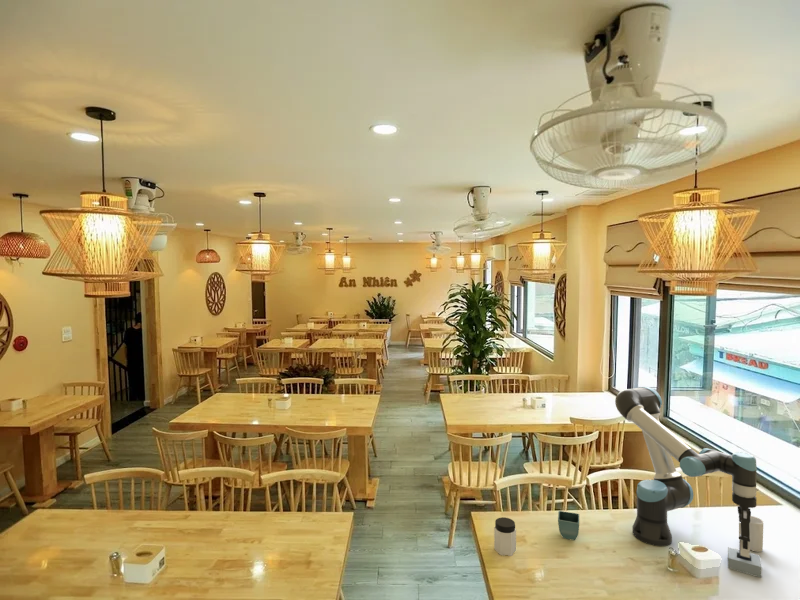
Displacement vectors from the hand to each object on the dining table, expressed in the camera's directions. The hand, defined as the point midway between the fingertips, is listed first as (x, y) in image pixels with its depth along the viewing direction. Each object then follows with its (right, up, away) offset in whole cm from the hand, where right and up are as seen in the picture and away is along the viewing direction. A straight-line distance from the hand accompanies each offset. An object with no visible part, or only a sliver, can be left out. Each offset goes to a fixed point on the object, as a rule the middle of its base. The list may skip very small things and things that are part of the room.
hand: (744, 547), depth 173 cm
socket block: (0, -8, 0) cm, 8 cm away
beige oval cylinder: (+14, -7, +15) cm, 22 cm away
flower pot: (-60, -8, +22) cm, 65 cm away
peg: (0, -8, 0) cm, 8 cm away
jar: (-91, -8, +12) cm, 92 cm away
